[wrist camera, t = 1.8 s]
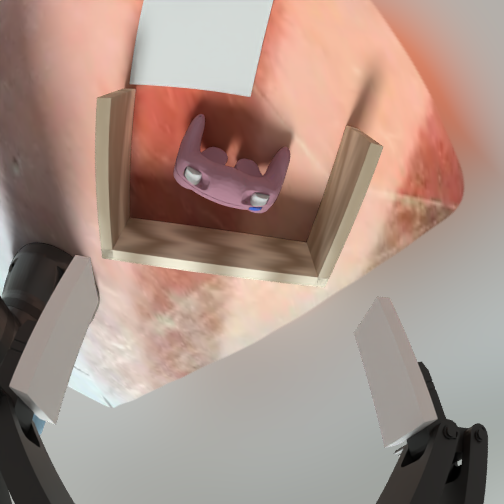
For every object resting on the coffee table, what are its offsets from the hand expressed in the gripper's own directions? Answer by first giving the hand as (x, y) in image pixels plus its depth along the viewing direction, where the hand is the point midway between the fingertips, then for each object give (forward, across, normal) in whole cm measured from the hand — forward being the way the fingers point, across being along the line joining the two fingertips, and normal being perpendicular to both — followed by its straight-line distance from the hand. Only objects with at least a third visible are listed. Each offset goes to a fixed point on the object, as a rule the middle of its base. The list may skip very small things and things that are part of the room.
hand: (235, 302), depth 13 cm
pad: (+18, -6, +12) cm, 23 cm away
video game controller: (+19, -1, 0) cm, 19 cm away
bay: (+18, -1, -2) cm, 18 cm away
